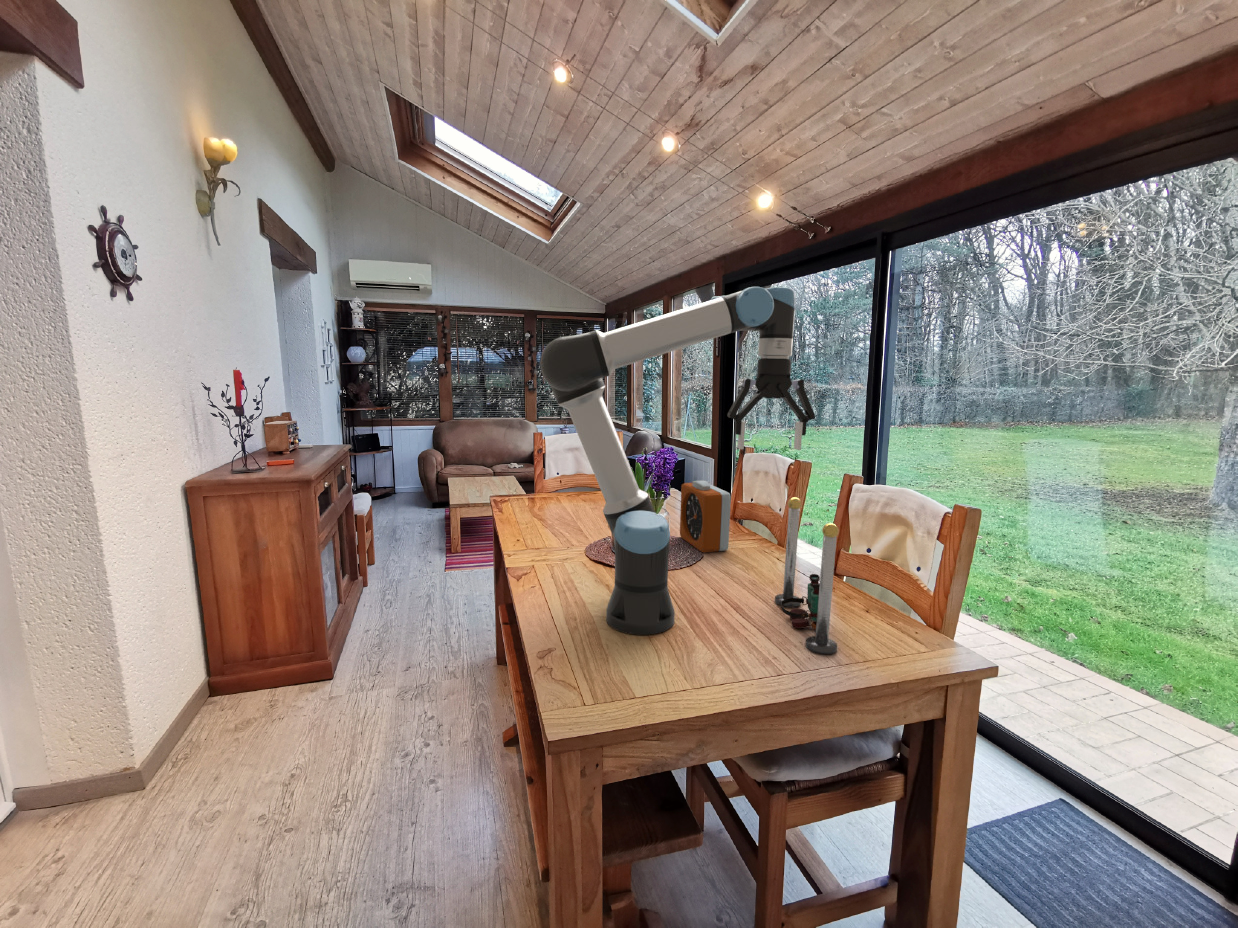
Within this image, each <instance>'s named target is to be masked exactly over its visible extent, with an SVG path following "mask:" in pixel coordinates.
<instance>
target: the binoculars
mask: <svg viewBox="0 0 1238 928" xmlns="http://www.w3.org/2000/svg"><path fill="white" fill-rule="evenodd" d="M809 581H810V582H809V583H808V584H807V594H806V595H807V597H806V596H803V595H802V597H801V598H800V597H799V598H787V599H784V600H783V601H781V606H780V608H781V611H782V612H783V614H785V615H787V616H788V617H790V619H791V627H792V628H795V629H803V628H808V627H811V628H813V629H814V630H816V624H817V612H818V599H819V586H820V575H819V574H816V573H812V574H810V575H809ZM788 602H798V603H801V605H802V606H807V609H808V610H805V609H802V608H791V610H787V608H785V607H782V605H784V604H785V603H788ZM809 620H811V623H810V622H809Z"/></svg>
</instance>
